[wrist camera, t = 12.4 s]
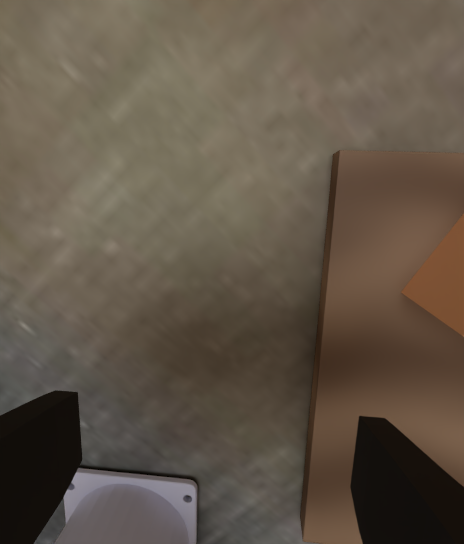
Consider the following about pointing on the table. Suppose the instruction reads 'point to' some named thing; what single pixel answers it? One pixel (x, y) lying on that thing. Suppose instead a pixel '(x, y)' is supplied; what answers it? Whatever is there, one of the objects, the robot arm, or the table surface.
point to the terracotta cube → (442, 280)
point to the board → (381, 327)
